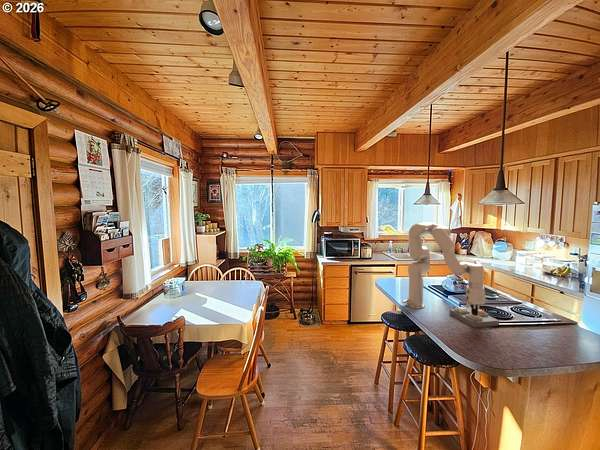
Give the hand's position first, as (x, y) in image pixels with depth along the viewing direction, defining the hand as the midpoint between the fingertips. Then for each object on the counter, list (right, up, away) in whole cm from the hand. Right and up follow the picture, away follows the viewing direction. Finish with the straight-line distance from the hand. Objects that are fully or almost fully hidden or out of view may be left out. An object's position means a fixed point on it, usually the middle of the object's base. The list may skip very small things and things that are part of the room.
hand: (474, 314), depth 163 cm
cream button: (-2, -2, +10) cm, 11 cm away
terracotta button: (+8, -2, +7) cm, 10 cm away
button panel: (+3, -5, +6) cm, 9 cm away
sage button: (0, -2, 0) cm, 2 cm away
